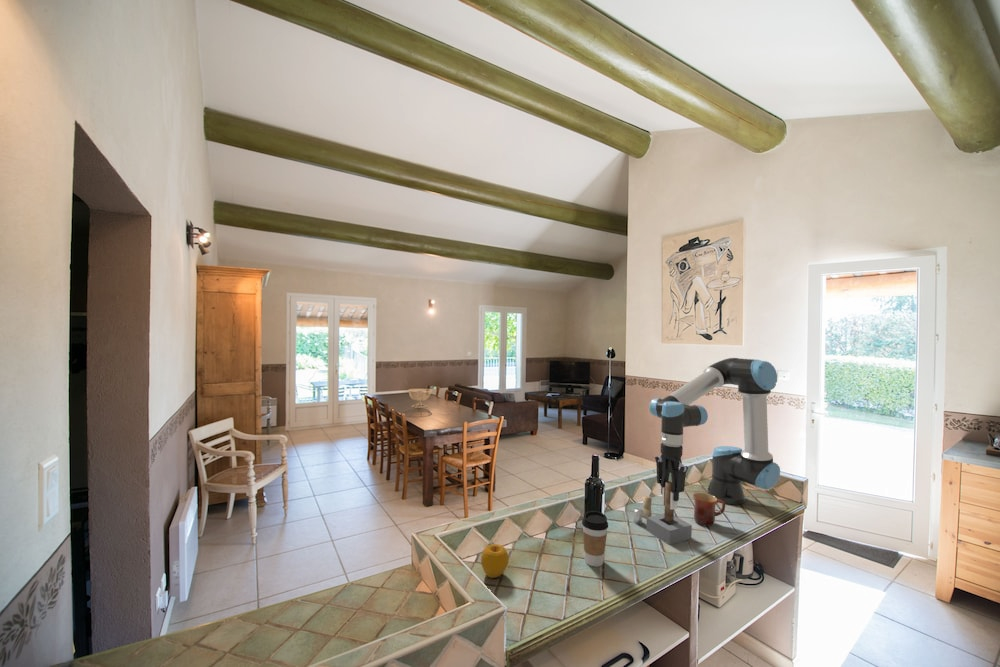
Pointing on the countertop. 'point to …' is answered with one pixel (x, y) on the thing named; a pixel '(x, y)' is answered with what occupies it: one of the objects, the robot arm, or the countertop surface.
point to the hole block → (669, 529)
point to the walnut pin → (668, 503)
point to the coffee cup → (594, 537)
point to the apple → (494, 560)
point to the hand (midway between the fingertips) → (669, 506)
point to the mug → (706, 508)
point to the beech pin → (647, 506)
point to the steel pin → (638, 516)
